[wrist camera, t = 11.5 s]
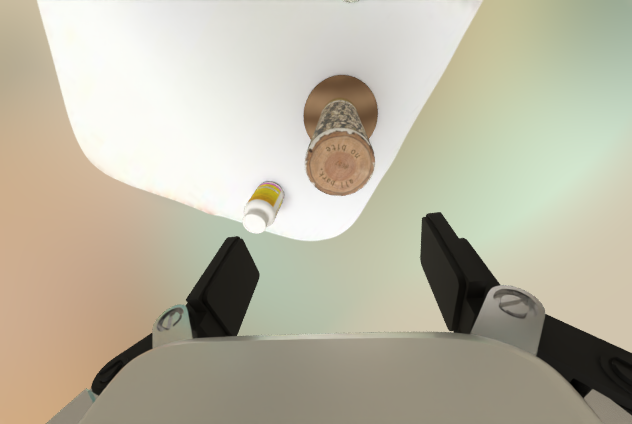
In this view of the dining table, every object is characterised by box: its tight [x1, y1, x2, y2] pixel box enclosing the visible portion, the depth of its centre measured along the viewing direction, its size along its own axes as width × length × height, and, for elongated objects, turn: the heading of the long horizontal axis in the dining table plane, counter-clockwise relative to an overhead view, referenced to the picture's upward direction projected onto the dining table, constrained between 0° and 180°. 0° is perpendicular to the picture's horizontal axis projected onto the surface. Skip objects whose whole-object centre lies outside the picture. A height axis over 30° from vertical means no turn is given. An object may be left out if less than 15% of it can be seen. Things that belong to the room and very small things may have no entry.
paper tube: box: [305, 98, 375, 196], centre depth 32 cm, size 7×7×25 cm
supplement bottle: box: [243, 182, 284, 233], centre depth 49 cm, size 7×7×13 cm
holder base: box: [304, 75, 378, 139], centre depth 37 cm, size 14×14×17 cm
